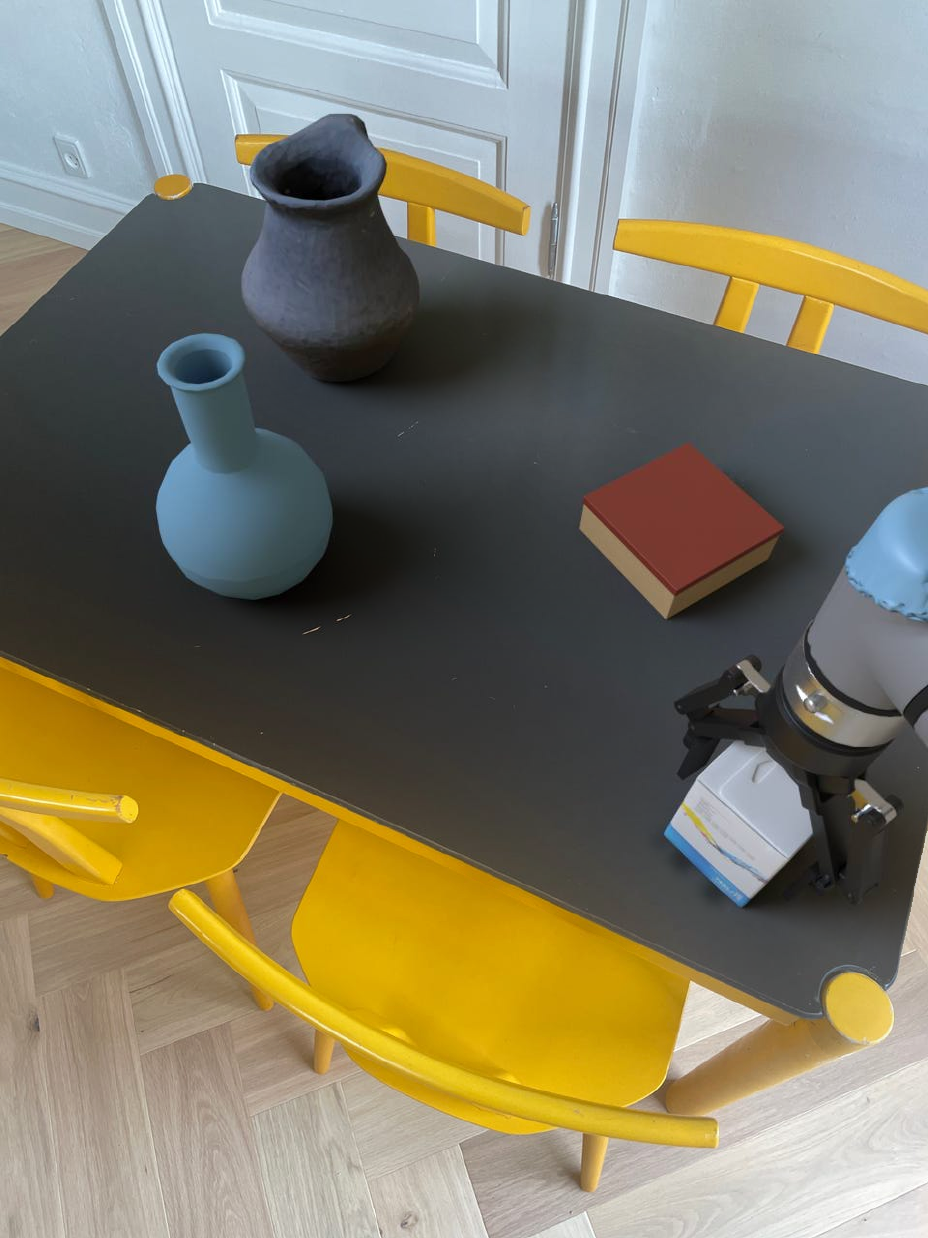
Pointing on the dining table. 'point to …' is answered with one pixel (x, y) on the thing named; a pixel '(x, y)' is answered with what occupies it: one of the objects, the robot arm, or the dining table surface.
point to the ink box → (741, 821)
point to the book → (678, 529)
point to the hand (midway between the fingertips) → (741, 826)
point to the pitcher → (328, 253)
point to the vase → (236, 482)
